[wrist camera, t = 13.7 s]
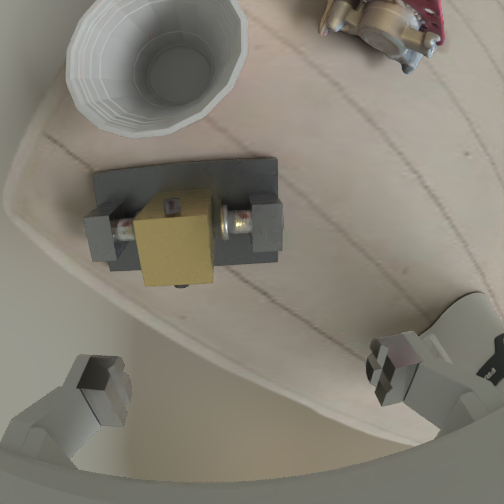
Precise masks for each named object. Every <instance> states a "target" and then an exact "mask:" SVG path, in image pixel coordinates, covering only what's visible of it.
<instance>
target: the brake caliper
mask: <svg viewBox="0 0 504 504" xmlns="http://www.w3.org/2000/svg"><path fill="white" fill-rule="evenodd" d="M425 8H427V9H430V10H431V11H432V12H434V13H433V14H431V13H429V12H427V11H425ZM414 13H418V15H415V14H414ZM418 16H419V17H421V20H419V19H418ZM433 22H434V23H433ZM319 29H320V31H319V33H320V35H322V36H325V35H327V33H328V31H329V30H330V31H333V32H337V31H339V30H340V31H341V32H344V33H347V34H353V35H358V36H360V37H361V38H362V39H363V40H364V41H365V42H366V43H368V44H369V45H370V46H372V47H374V48H376V49H378V50H380V51H382V52H384V53H385V54H386V56H387V57H388V58H390V59H393V60H396V61H398V62H399V63H401V65H402V70H403V72H404V73H406V74H410V73H411V72H412V71H413V70H414V69H415V68H416V66H417V64H418V61H419V60H420V59H421V57H422V55H424V56H426V57H427V58H431V57H432V55H433V54H434V52H435V51H436V49H437V45H438V46H439V45H443V44H444V41H445V33H444V21H443V14H442V8H441V1H440V0H328V3H327V6H326V10H325V12H324V15H323V16H322V18H321V21H320V24H319Z"/></svg>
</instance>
